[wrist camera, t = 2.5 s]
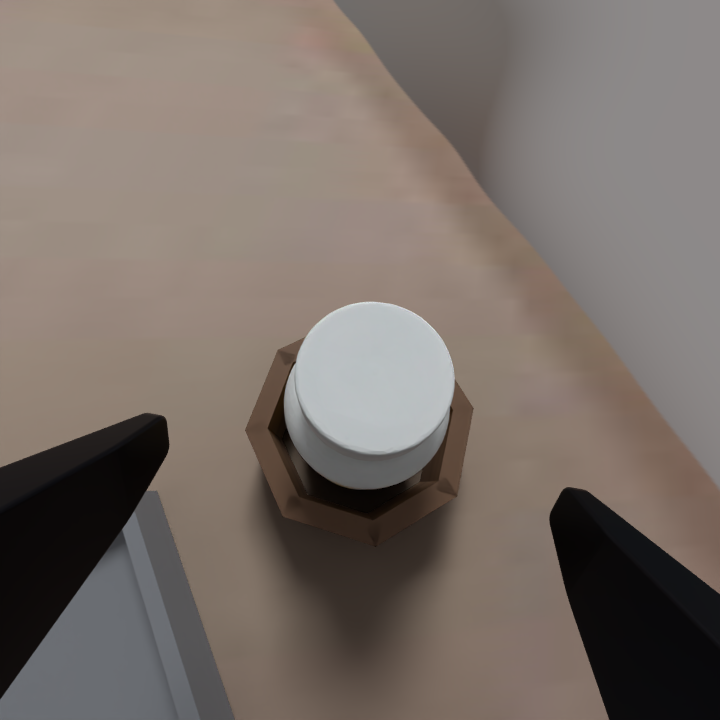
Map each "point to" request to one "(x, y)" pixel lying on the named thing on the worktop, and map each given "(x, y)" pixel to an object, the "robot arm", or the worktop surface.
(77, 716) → the tray
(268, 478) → the cup holder
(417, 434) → the supplement bottle
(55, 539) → the robot arm
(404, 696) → the worktop surface
